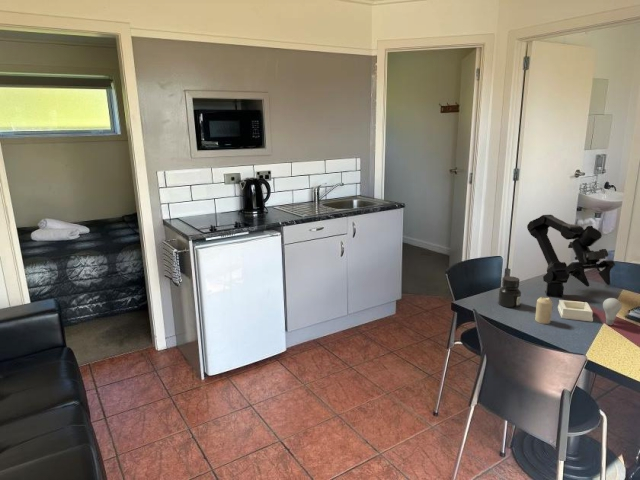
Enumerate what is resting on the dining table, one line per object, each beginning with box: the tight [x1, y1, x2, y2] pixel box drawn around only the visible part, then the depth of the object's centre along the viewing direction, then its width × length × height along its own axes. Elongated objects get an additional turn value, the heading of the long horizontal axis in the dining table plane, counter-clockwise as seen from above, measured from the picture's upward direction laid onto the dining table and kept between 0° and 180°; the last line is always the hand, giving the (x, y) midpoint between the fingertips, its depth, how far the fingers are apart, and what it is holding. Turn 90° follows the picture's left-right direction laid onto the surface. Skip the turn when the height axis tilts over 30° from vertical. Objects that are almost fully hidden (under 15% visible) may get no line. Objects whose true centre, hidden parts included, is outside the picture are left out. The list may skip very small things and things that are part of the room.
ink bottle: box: [497, 275, 522, 309], centre depth 195 cm, size 10×9×12 cm
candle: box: [534, 296, 553, 325], centre depth 177 cm, size 6×6×10 cm
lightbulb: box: [602, 297, 623, 326], centre depth 172 cm, size 6×6×11 cm
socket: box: [557, 299, 594, 322], centre depth 183 cm, size 11×11×4 cm
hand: (598, 285), depth 178 cm, fingers open, 9 cm apart
